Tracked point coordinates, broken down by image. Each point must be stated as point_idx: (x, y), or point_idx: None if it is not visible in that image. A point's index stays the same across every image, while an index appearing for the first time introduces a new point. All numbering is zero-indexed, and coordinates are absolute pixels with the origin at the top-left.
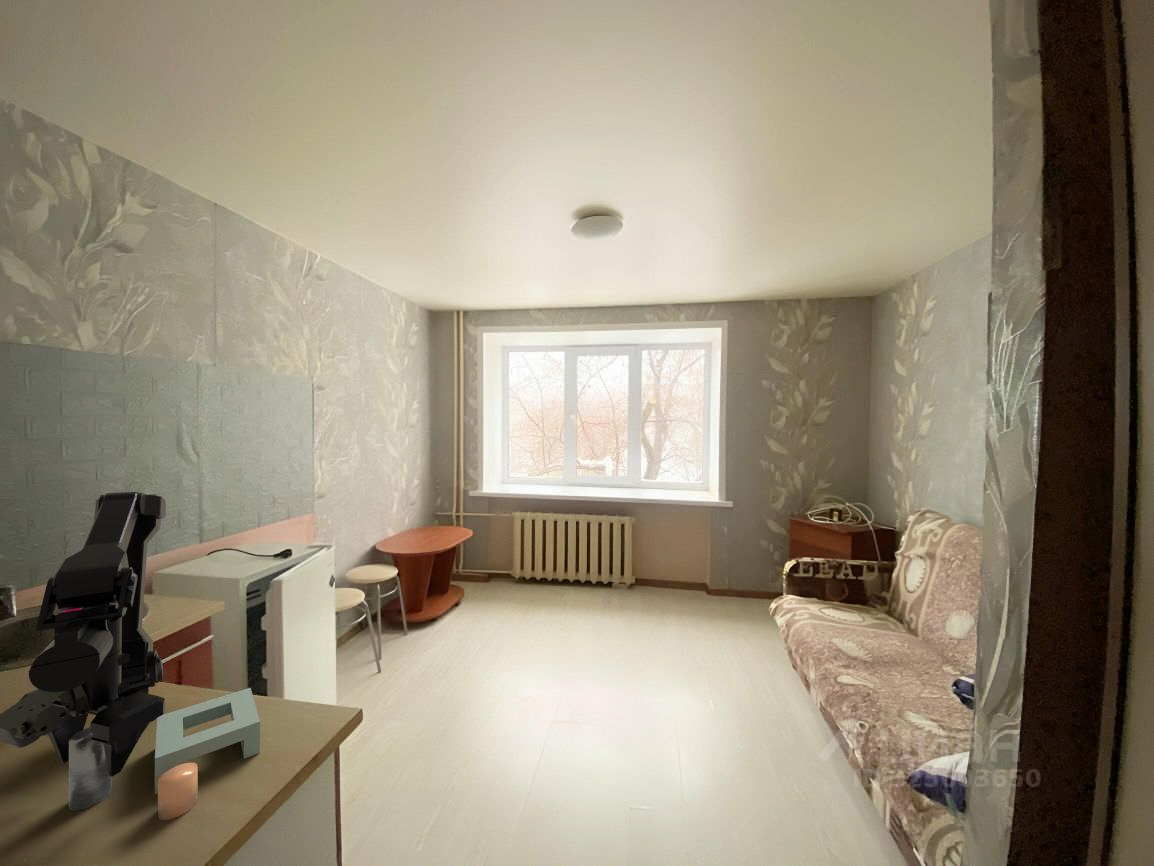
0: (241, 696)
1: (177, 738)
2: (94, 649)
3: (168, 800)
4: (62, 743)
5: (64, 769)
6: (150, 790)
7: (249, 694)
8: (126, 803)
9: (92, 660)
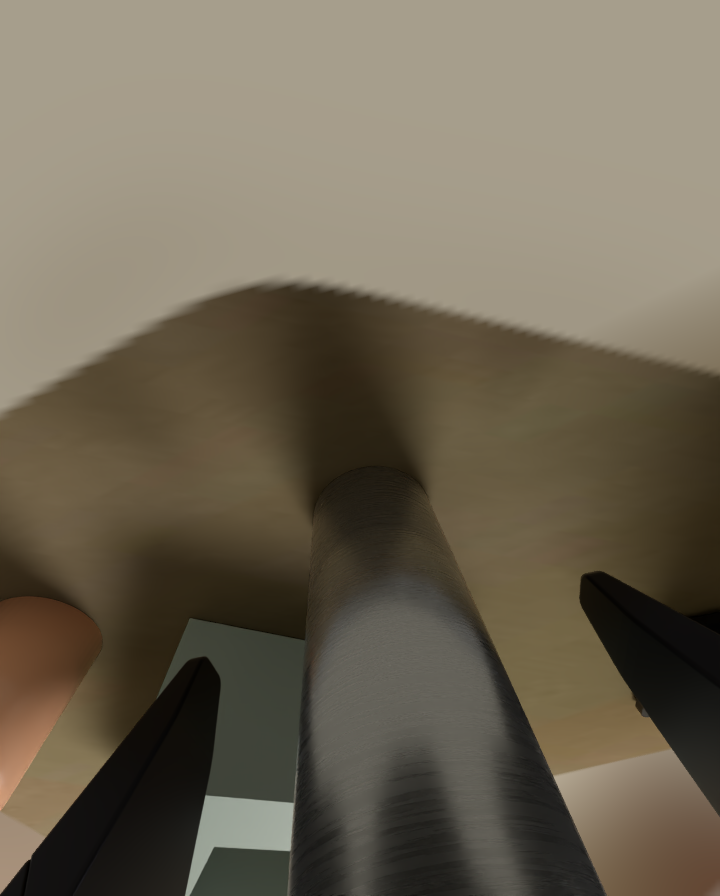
0: None
1: (227, 838)
2: None
3: None
4: (710, 705)
5: (660, 512)
6: (228, 615)
7: None
8: (220, 566)
9: None
